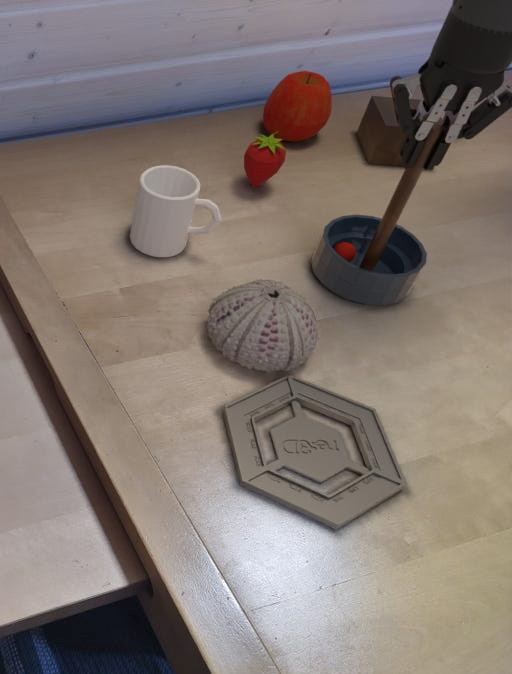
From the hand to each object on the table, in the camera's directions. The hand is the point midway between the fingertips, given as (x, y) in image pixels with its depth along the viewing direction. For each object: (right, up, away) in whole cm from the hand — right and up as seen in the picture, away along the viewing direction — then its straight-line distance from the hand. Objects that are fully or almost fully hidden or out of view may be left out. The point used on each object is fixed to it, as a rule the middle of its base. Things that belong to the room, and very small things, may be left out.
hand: (416, 165), depth 83 cm
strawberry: (-10, +4, +29) cm, 31 cm away
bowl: (0, -11, +15) cm, 19 cm away
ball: (-2, -8, +15) cm, 17 cm away
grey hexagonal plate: (-15, -33, -5) cm, 36 cm away
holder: (+17, +13, +38) cm, 44 cm away
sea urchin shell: (-17, -21, +6) cm, 27 cm away
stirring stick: (-1, -12, +12) cm, 17 cm away
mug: (-25, -7, +18) cm, 32 cm away
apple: (0, +17, +41) cm, 44 cm away
